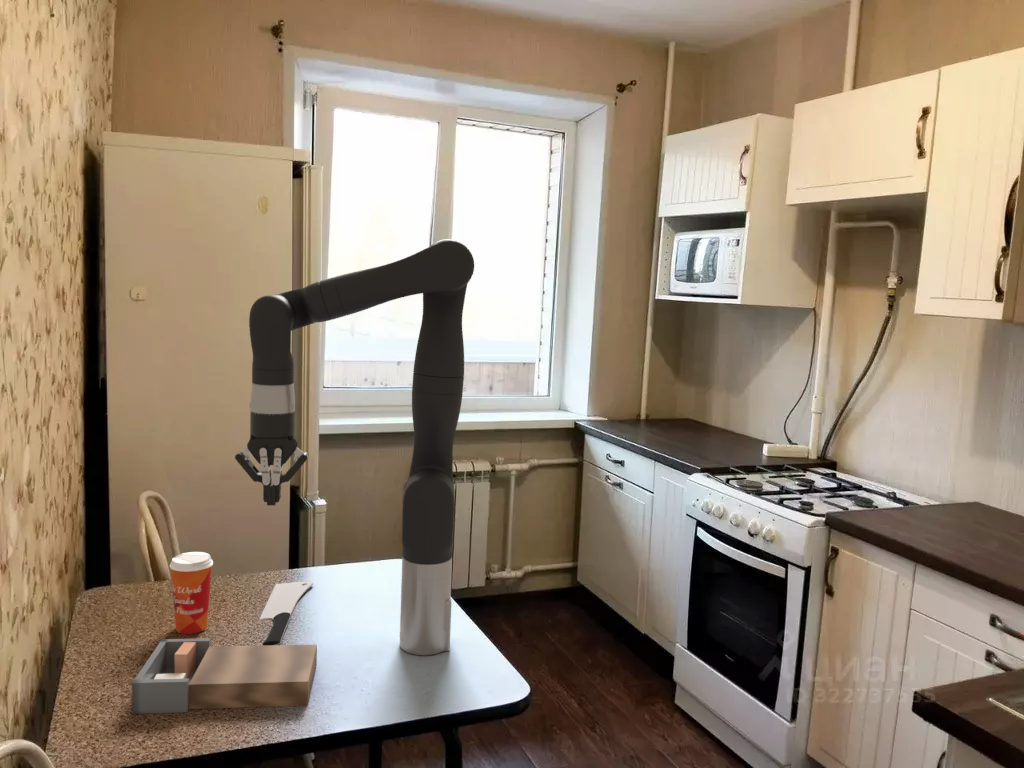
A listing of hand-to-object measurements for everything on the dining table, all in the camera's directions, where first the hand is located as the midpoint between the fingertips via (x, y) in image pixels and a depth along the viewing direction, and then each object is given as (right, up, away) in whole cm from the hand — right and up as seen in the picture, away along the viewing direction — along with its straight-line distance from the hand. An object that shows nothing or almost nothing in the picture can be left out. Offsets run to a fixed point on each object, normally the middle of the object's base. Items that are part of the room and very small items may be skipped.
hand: (271, 504), depth 140 cm
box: (-12, -28, -12) cm, 33 cm away
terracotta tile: (-11, -25, -8) cm, 29 cm away
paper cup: (-18, -25, +10) cm, 33 cm away
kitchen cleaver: (-5, -26, +18) cm, 32 cm away
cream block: (-12, -26, -15) cm, 32 cm away
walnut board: (+1, -29, -11) cm, 30 cm away
